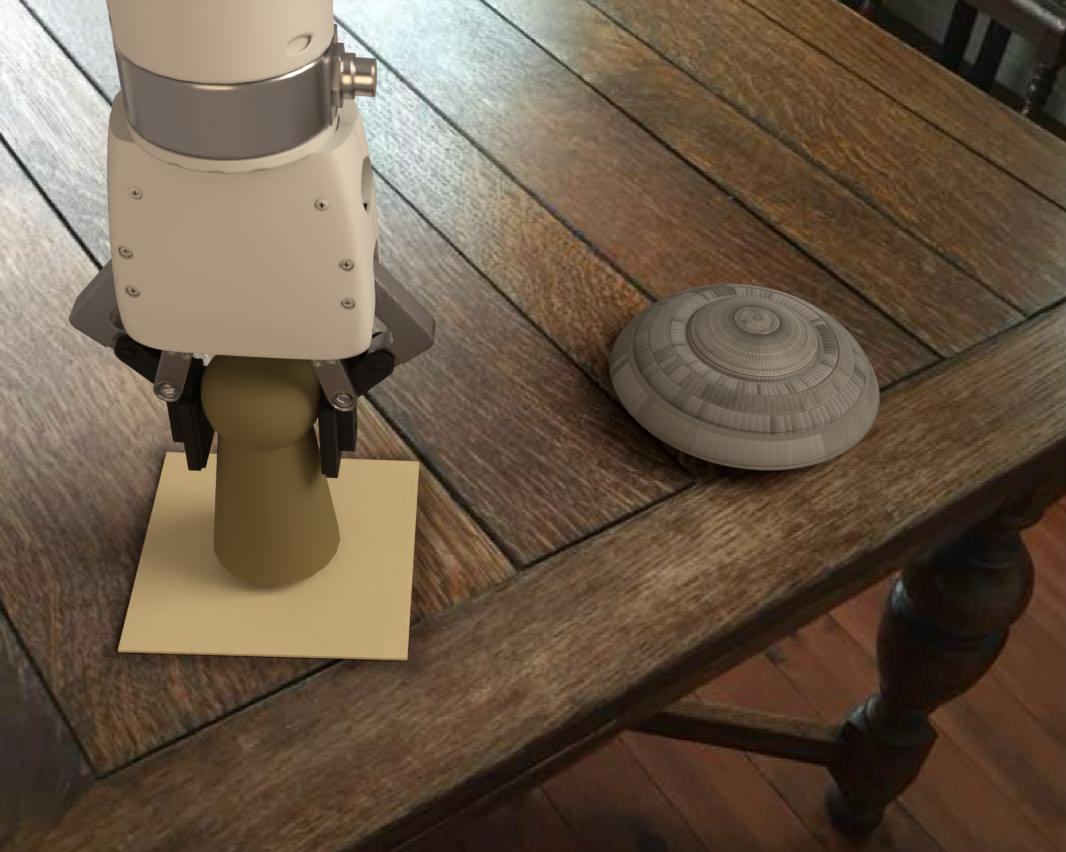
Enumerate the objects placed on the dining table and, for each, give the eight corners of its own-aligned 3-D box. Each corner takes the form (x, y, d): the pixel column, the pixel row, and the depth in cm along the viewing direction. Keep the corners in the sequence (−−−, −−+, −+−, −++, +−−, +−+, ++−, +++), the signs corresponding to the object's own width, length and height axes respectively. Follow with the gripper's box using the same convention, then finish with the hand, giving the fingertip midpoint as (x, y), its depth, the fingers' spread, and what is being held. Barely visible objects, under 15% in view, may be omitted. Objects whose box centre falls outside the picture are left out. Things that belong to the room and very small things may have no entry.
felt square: (166, 454, 70) (166, 451, 70) (419, 463, 71) (419, 461, 71) (118, 652, 61) (117, 650, 61) (407, 660, 62) (407, 658, 62)
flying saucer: (602, 305, 81) (613, 228, 77) (850, 320, 82) (873, 243, 78) (611, 482, 71) (623, 402, 67) (894, 496, 72) (923, 419, 68)
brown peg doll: (365, 529, 66) (360, 353, 58) (284, 605, 63) (266, 429, 55) (270, 476, 68) (252, 299, 60) (186, 547, 65) (155, 369, 57)
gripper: (474, 46, 51) (461, 408, 64) (13, 15, 50) (95, 388, 64) (466, 153, 46) (453, 523, 59) (-47, 120, 45) (56, 502, 59)
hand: (268, 450), depth 61 cm, fingers closed on brown peg doll, 5 cm apart
